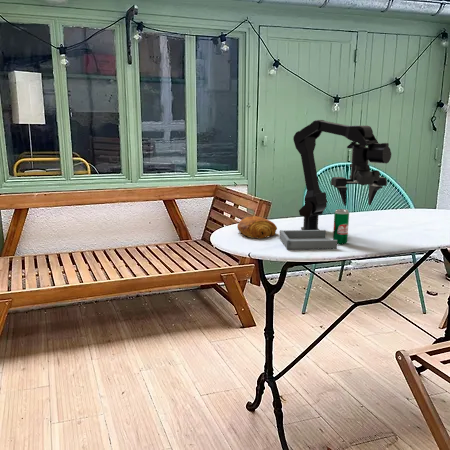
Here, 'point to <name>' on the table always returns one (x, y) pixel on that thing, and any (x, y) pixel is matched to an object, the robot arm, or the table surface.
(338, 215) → the soda can
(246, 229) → the croissant
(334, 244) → the tray
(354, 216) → the table surface
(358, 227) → the table surface
